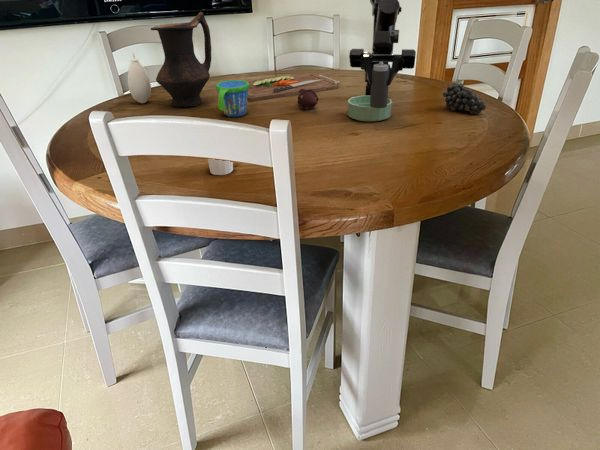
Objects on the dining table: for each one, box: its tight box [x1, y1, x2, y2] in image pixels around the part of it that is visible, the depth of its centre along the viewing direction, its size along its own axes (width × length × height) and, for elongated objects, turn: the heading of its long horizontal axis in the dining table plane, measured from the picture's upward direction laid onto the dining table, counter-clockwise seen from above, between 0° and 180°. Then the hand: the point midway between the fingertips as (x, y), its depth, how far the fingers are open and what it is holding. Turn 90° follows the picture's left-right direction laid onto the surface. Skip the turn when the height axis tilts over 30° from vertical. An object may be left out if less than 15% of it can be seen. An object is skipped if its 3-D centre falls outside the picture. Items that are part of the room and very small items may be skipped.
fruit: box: [442, 82, 487, 115], centre depth 150 cm, size 9×8×15 cm
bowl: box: [347, 95, 393, 122], centre depth 149 cm, size 14×14×5 cm
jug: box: [150, 11, 212, 108], centre depth 161 cm, size 21×18×30 cm
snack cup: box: [215, 79, 249, 118], centre depth 153 cm, size 16×10×10 cm
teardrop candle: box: [127, 51, 152, 104], centre depth 167 cm, size 8×8×18 cm
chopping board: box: [245, 72, 340, 102], centre depth 186 cm, size 45×27×3 cm, turn 117°
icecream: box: [296, 89, 320, 111], centre depth 157 cm, size 7×7×15 cm
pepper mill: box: [370, 62, 390, 108], centre depth 133 cm, size 5×5×13 cm
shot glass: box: [207, 159, 234, 176], centre depth 112 cm, size 7×7×7 cm
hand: (379, 84), depth 132 cm, fingers closed on pepper mill, 5 cm apart
